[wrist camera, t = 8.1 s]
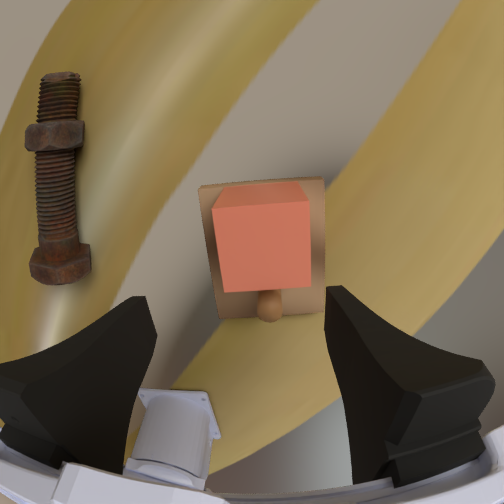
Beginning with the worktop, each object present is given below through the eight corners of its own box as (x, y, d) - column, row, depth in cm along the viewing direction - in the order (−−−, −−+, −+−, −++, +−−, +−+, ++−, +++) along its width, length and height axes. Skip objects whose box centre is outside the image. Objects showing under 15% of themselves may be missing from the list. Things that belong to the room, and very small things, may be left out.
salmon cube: (300, 248, 20) (311, 286, 16) (232, 253, 21) (224, 292, 16) (297, 181, 18) (309, 201, 14) (224, 187, 19) (211, 208, 14)
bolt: (95, 79, 18) (91, 253, 24) (37, 82, 16) (39, 258, 22) (93, 65, 14) (91, 285, 19) (20, 71, 11) (29, 291, 17)
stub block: (320, 303, 23) (330, 336, 20) (221, 309, 24) (213, 344, 20) (320, 176, 19) (334, 189, 16) (201, 185, 20) (186, 201, 16)
